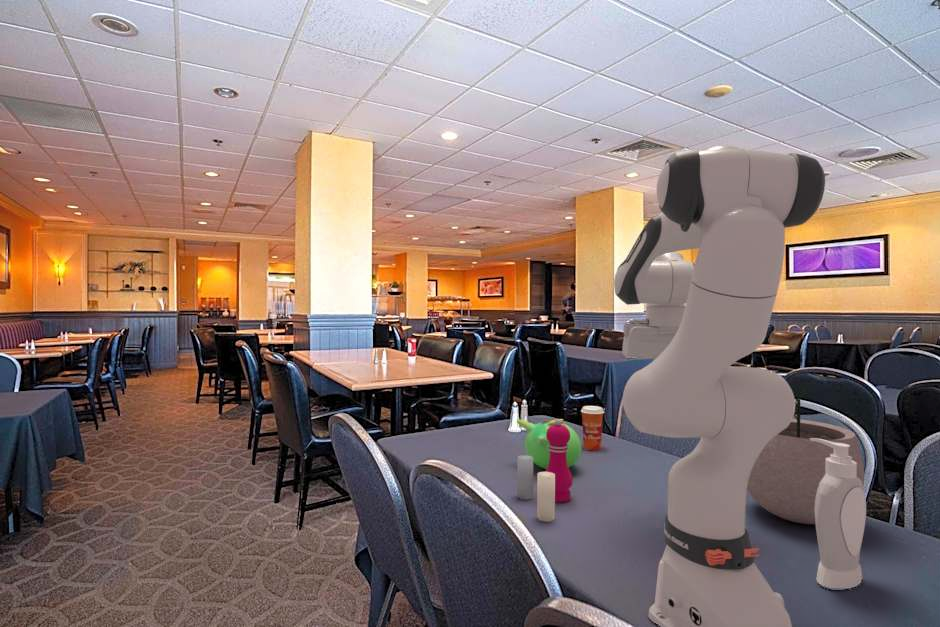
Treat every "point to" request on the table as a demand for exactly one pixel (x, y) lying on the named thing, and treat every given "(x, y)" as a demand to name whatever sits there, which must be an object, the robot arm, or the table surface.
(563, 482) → the pepper mill
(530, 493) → the slate post
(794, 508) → the plant pot
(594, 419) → the paper cup
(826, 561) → the soap bottle
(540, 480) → the cream post
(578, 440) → the toy bird
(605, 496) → the table surface
